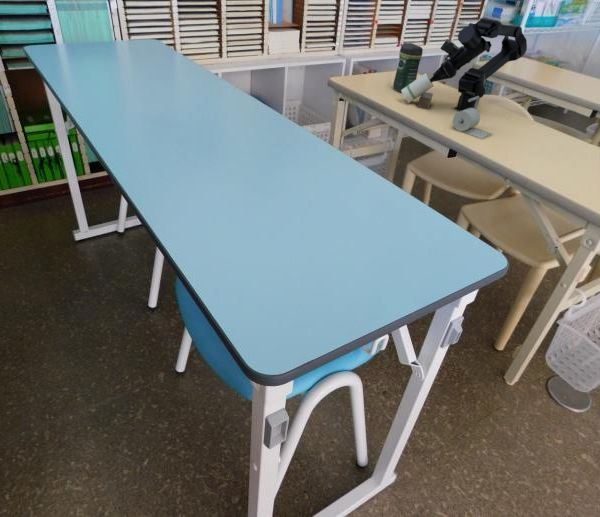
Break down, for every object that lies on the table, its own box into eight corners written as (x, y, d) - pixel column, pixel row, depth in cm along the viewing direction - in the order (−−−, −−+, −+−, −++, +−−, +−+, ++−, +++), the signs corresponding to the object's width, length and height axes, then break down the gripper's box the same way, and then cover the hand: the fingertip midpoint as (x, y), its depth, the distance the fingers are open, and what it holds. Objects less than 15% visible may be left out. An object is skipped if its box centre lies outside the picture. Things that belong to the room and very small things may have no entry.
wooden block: (430, 103, 182) (433, 93, 179) (427, 109, 175) (430, 98, 173) (421, 101, 183) (423, 91, 180) (417, 107, 176) (419, 96, 174)
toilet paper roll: (493, 133, 159) (463, 122, 165) (503, 102, 152) (471, 93, 159) (479, 139, 152) (448, 128, 159) (489, 107, 146) (457, 97, 153)
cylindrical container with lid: (427, 102, 183) (435, 72, 175) (428, 107, 178) (437, 77, 170) (398, 98, 183) (405, 68, 176) (398, 103, 178) (406, 72, 171)
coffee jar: (416, 93, 192) (427, 46, 181) (400, 93, 190) (410, 46, 179) (405, 86, 200) (414, 41, 189) (389, 87, 197) (398, 41, 186)
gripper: (460, 29, 168) (424, 55, 178) (455, 36, 154) (416, 65, 163) (475, 54, 171) (439, 79, 180) (471, 64, 157) (432, 91, 166)
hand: (431, 78), depth 172 cm, fingers open, 9 cm apart
